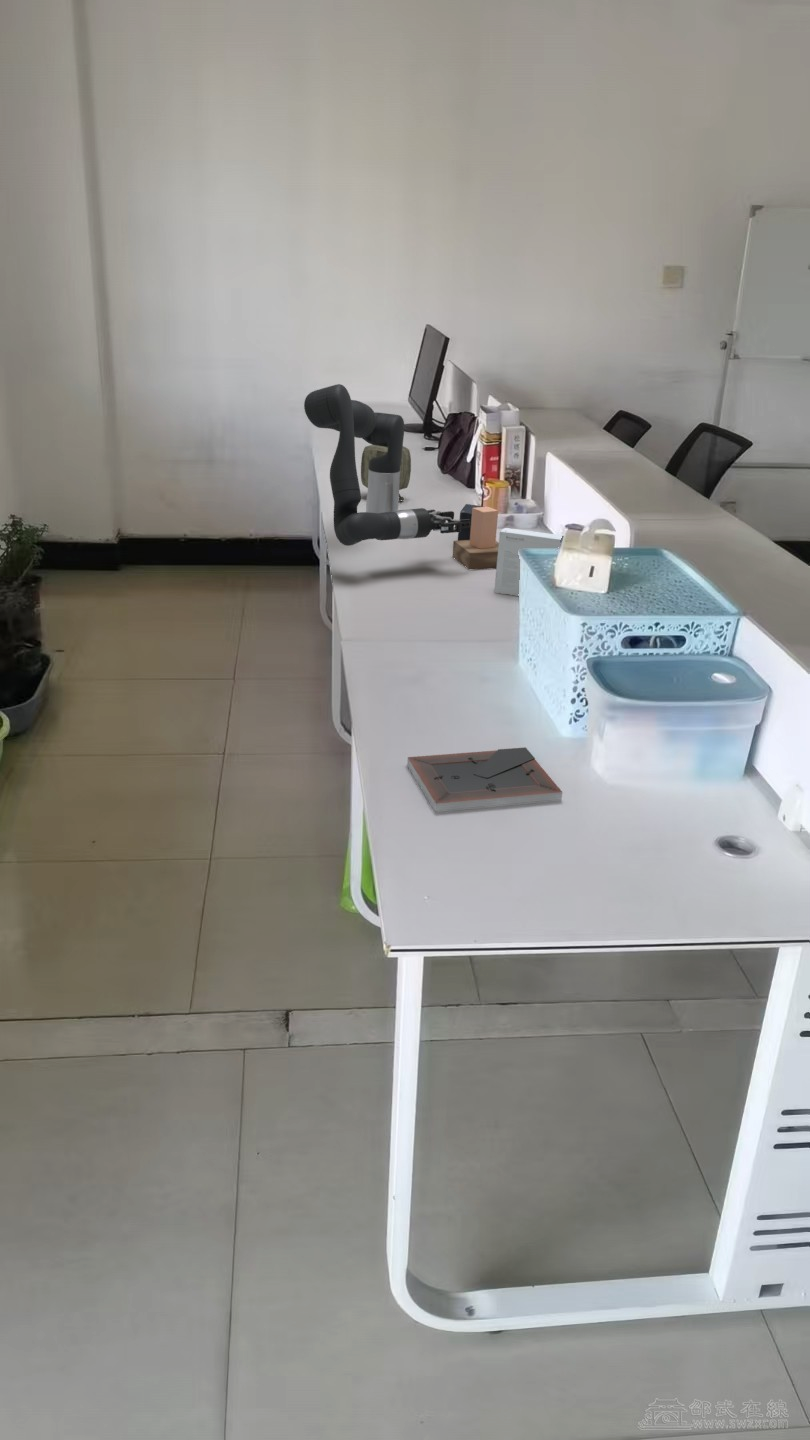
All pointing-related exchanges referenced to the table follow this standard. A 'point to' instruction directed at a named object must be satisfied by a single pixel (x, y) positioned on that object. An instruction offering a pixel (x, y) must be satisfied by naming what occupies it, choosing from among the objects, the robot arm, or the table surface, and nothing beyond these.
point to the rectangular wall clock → (483, 779)
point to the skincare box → (509, 555)
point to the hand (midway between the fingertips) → (461, 519)
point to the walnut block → (475, 555)
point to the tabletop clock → (381, 450)
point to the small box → (466, 514)
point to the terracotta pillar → (483, 527)
